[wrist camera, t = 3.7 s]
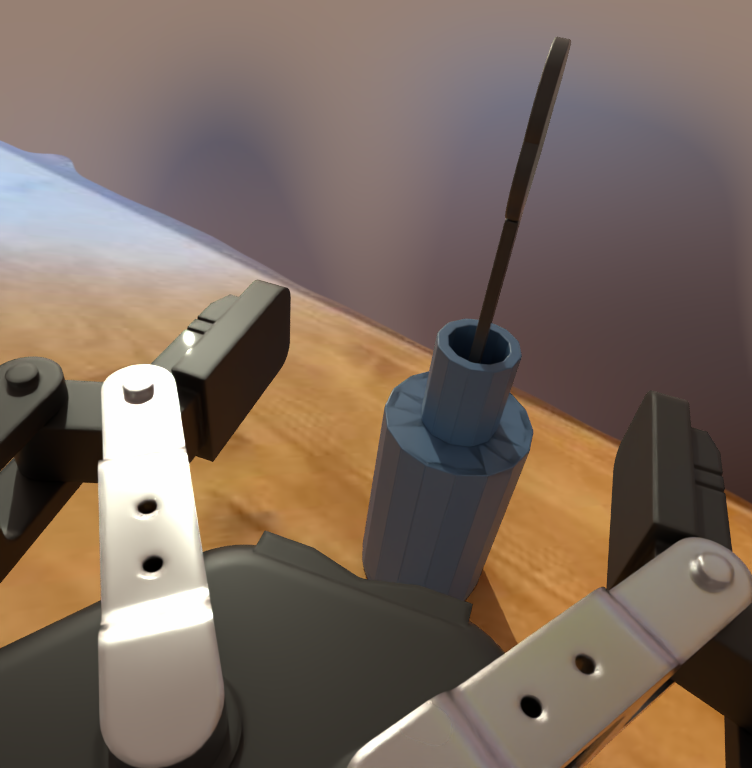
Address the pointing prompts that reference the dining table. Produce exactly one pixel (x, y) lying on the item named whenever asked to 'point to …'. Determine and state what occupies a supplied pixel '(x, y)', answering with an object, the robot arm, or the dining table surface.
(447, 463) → the bottle
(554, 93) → the spoon
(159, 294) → the dining table surface
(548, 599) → the dining table surface
